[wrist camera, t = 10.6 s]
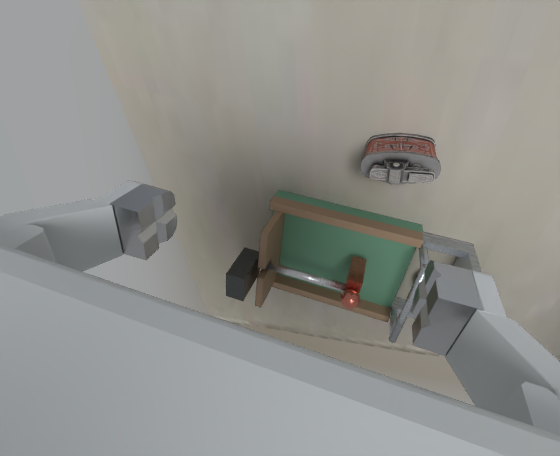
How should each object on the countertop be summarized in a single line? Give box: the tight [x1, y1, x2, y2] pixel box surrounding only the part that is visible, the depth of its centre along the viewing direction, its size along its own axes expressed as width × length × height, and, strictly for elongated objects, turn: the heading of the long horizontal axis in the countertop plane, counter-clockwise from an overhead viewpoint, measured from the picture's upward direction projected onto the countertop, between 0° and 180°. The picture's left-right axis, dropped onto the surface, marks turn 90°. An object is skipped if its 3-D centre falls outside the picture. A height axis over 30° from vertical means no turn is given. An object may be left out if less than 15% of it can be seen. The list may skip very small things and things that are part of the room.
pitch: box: [255, 190, 423, 322], centre depth 47 cm, size 21×16×10 cm
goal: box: [389, 232, 481, 343], centre depth 45 cm, size 7×14×8 cm, turn 174°
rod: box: [226, 248, 367, 309], centre depth 45 cm, size 17×4×11 cm, turn 84°
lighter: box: [360, 133, 441, 184], centre depth 36 cm, size 8×3×10 cm, turn 93°
